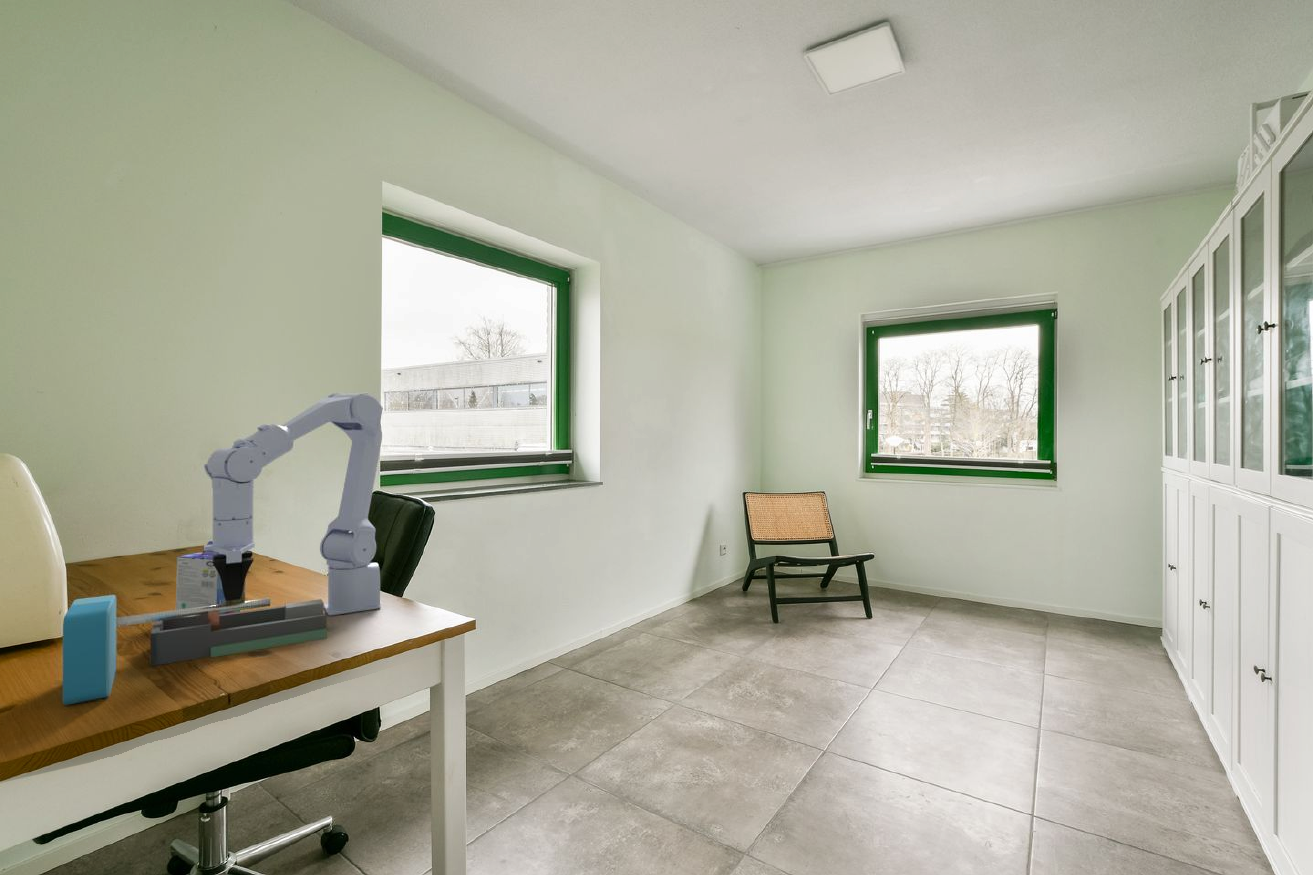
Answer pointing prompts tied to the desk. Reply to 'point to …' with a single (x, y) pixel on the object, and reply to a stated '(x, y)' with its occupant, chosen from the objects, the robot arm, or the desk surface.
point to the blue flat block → (89, 649)
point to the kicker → (196, 612)
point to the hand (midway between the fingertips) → (233, 597)
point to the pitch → (237, 632)
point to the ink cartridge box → (198, 581)
